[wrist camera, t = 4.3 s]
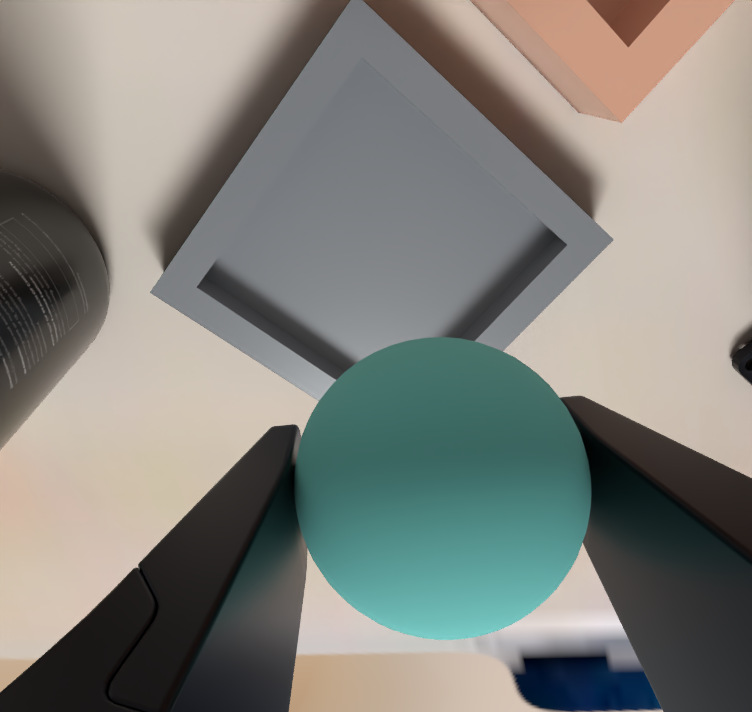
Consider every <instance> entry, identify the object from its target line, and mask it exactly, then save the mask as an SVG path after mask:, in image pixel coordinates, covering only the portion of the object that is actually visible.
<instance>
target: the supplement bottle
mask: <svg viewBox="0 0 752 712" xmlns="http://www.w3.org/2000/svg"><path fill="white" fill-rule="evenodd" d="M108 305H109V281H108V274H107V270H106V266H105V263H104V260H103V258H102V255H101V253H100V250H99V248H98V246H97V244H96V243H95V241H94V239H93V237H92V236H91V234H90V233H89V231H88V230H87V228H86V227H85V226H84V224H83V223H82V222H81V221H80V220H79V218H78V217H77V216H76V215H75V214H74V213H73V212H72V211H71V210H70V209H69V208H68V207H67V206H66V205H65V204H64V203H62V202H61V201H60V200H59V199H58V198H56V197H55V196H54V195H52V194H51V193H50V192H48V191H47V190H45V189H44V188H42V187H40V186H39V185H37V184H35V183H33V182H31V181H29V180H28V179H25V178H23V177H21V176H18V175H16V174H13V173H11V172H8V171H5V170H1V169H0V450H1V449H2V448H3V447H4V445H5V444H6V443H7V442H8V441H9V440H10V438H11V437H12V436H13V435H14V434H15V433H16V431H17V430H18V429H19V428H20V427H21V426H22V424H23V423H24V422H25V421H26V420H27V419H28V417H29V416H30V415H31V414H32V413H33V412H34V410H35V409H36V408H37V407H38V406H39V405H40V403H41V402H42V401H43V400H44V399H45V398H46V396H47V395H48V394H49V393H50V392H51V391H52V389H53V388H54V387H55V386H56V385H57V384H58V382H59V381H60V380H61V379H62V378H63V377H64V375H65V374H66V373H67V372H68V371H69V370H70V368H71V367H72V366H73V365H74V364H75V363H76V361H77V360H78V359H79V358H80V357H81V355H82V354H83V353H84V352H85V351H86V349H87V348H88V347H89V346H90V344H91V343H92V342H93V341H94V339H95V338H96V336H97V334H98V333H99V331H100V330H101V328H102V325H103V323H104V321H105V318H106V314H107V310H108Z"/></svg>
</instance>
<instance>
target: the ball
mask: <svg viewBox="0 0 752 712" xmlns="http://www.w3.org/2000/svg"><path fill="white" fill-rule="evenodd" d="M294 496H295V505H296V512H297V517H298V522H299V525H300V529H301V532H302V536H303V538H304V540H305V543H306V545H307V548H308V550H309V552H310V554H311V556H312V558H313V560H314V562H315V563H316V565H317V566H318V568H319V569H320V571H321V572H322V574H323V575H324V577H325V578H326V580H327V581H328V583H329V584H330V585H331V586H332V587H333V588H334V589H335V590H336V591H337V593H338V594H339V595H340V596H341V597H343V598H344V599H345V600H346V601H347V602H348V603H349V604H350V605H351V606H353V607H354V608H355V609H356V610H358V611H359V612H361V613H362V614H364V615H366V616H367V617H369V618H371V619H372V620H374V621H375V622H377V623H379V624H381V625H383V626H385V627H387V628H390V629H392V630H395V631H398V632H401V633H404V634H408V635H412V636H416V637H421V638H427V639H435V640H455V639H465V638H472V637H477V636H481V635H485V634H488V633H491V632H495V631H498V630H500V629H502V628H505V627H507V626H509V625H511V624H513V623H515V622H517V621H518V620H520V619H522V618H523V617H525V616H526V615H528V614H529V613H531V612H532V611H533V610H534V609H536V608H537V607H538V606H539V605H540V604H542V603H543V602H544V601H545V600H546V599H547V598H548V597H549V596H550V595H551V594H552V593H553V592H554V591H555V590H556V589H557V587H558V586H559V585H560V583H561V582H562V581H563V579H564V578H565V576H566V575H567V573H568V572H569V570H570V569H571V567H572V565H573V563H574V562H575V560H576V558H577V556H578V553H579V550H580V548H581V545H582V542H583V540H584V537H585V534H586V531H587V526H588V521H589V515H590V508H591V476H590V469H589V462H588V458H587V454H586V450H585V447H584V444H583V441H582V438H581V435H580V432H579V430H578V428H577V426H576V424H575V422H574V420H573V418H572V417H571V415H570V413H569V411H568V409H567V407H566V406H565V405H564V403H563V402H562V401H561V399H560V398H559V397H558V395H557V394H556V393H555V392H554V390H553V389H552V388H551V387H550V385H548V384H547V383H546V382H545V381H544V380H543V379H542V378H541V377H540V376H539V375H538V374H537V373H536V372H534V371H533V370H532V369H530V368H529V367H528V366H526V365H525V364H523V363H522V362H521V361H519V360H518V359H516V358H515V357H513V356H511V355H509V354H507V353H505V352H503V351H501V350H498V349H496V348H493V347H491V346H488V345H485V344H482V343H479V342H475V341H471V340H466V339H461V338H449V337H432V338H421V339H414V340H408V341H405V342H401V343H397V344H394V345H391V346H388V347H386V348H384V349H381V350H379V351H376V352H374V353H372V354H371V355H369V356H367V357H365V358H364V359H362V360H360V361H359V362H357V363H356V364H355V365H353V366H352V367H351V368H349V369H348V370H347V371H345V372H344V373H343V374H342V375H341V376H340V377H339V378H338V379H337V380H336V381H335V382H334V383H333V384H332V386H331V387H330V388H329V389H328V390H327V392H326V393H325V394H324V395H323V397H322V398H321V399H320V400H319V402H318V404H317V406H316V407H315V409H314V411H313V412H312V414H311V416H310V418H309V420H308V422H307V425H306V427H305V430H304V432H303V435H302V437H301V441H300V445H299V450H298V454H297V459H296V463H295V475H294Z"/></svg>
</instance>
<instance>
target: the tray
mask: <svg viewBox="0 0 752 712" xmlns="http://www.w3.org/2000/svg"><path fill="white" fill-rule="evenodd" d="M613 240H614V239H613V238H612V237H610V236H609V235H608V234H607V233H606V232H605V231H604V230H603V229H602V228H601V227H600V226H599V225H598V224H597V223H596V222H595V221H594V220H593V219H592V218H591V217H589V216H588V215H587V214H586V213H585V212H584V211H583V210H582V209H581V208H580V207H579V206H578V205H577V204H576V203H575V202H574V201H573V200H572V199H571V198H570V197H568V196H567V195H566V194H565V193H564V192H563V191H562V190H561V189H560V188H559V187H558V186H557V185H556V184H555V183H554V182H553V181H552V180H551V179H550V178H549V177H548V176H546V175H545V174H544V173H543V172H542V171H541V170H540V169H539V168H538V167H537V166H536V165H535V164H534V163H533V162H532V161H531V160H530V159H529V158H528V157H527V156H525V155H524V154H523V153H522V152H521V151H520V150H519V149H518V148H517V147H516V146H515V145H514V144H513V143H512V142H511V141H510V140H509V139H508V138H507V137H506V136H505V135H503V134H502V133H501V132H500V131H499V130H498V129H497V128H496V127H495V126H494V125H493V124H492V123H491V122H490V121H489V120H488V119H487V118H486V117H485V116H484V115H482V114H481V113H480V112H479V111H478V110H477V109H476V108H475V107H474V106H473V105H472V104H471V103H470V102H469V101H468V100H467V99H466V98H465V97H464V96H463V95H462V94H460V93H459V92H458V91H457V90H456V89H455V88H454V87H453V86H452V85H451V84H450V83H449V82H448V81H447V80H446V79H445V78H444V77H443V76H442V75H441V74H439V73H438V72H437V71H436V70H435V69H434V68H433V67H432V66H431V65H430V64H429V63H428V62H427V61H426V60H425V59H424V58H423V57H422V56H421V55H420V54H419V53H417V52H416V51H415V50H414V49H413V48H412V47H411V46H410V45H409V44H408V43H407V42H406V41H405V40H404V39H403V38H402V37H401V36H400V35H399V34H398V33H396V32H395V31H394V30H393V29H392V28H391V27H390V26H389V25H388V24H387V23H386V22H385V21H384V20H383V19H382V18H381V17H380V16H379V15H378V14H377V13H376V12H374V11H373V10H372V9H371V8H370V7H369V6H368V5H367V4H366V3H365V2H364V1H363V0H350V2H349V3H348V5H347V6H346V8H345V9H344V11H343V12H342V13H341V15H340V16H339V18H338V19H337V21H336V22H335V24H334V25H333V27H332V28H331V29H330V31H329V32H328V34H327V35H326V37H325V38H324V40H323V41H322V43H321V44H320V46H319V47H318V48H317V50H316V51H315V53H314V54H313V56H312V57H311V59H310V60H309V62H308V63H307V64H306V66H305V67H304V69H303V70H302V72H301V73H300V75H299V76H298V78H297V79H296V81H295V82H294V83H293V85H292V86H291V88H290V89H289V91H288V92H287V94H286V95H285V97H284V98H283V99H282V101H281V102H280V104H279V105H278V107H277V108H276V110H275V111H274V113H273V114H272V115H271V117H270V118H269V120H268V121H267V123H266V124H265V126H264V127H263V129H262V130H261V132H260V133H259V134H258V136H257V137H256V139H255V140H254V142H253V143H252V145H251V146H250V148H249V149H248V150H247V152H246V153H245V155H244V156H243V158H242V159H241V161H240V162H239V164H238V165H237V166H236V168H235V169H234V171H233V172H232V174H231V175H230V177H229V178H228V180H227V181H226V183H225V184H224V185H223V187H222V188H221V190H220V191H219V193H218V194H217V196H216V197H215V199H214V200H213V201H212V203H211V204H210V206H209V207H208V209H207V210H206V212H205V213H204V215H203V216H202V218H201V219H200V220H199V222H198V223H197V225H196V226H195V228H194V229H193V231H192V232H191V234H190V235H189V236H188V238H187V239H186V241H185V242H184V244H183V245H182V247H181V248H180V250H179V251H178V252H177V254H176V255H175V257H174V258H173V260H172V261H171V263H170V264H169V266H168V267H167V269H166V270H165V271H164V273H163V274H162V276H161V277H160V279H159V280H158V282H157V283H156V285H155V286H154V287H153V289H152V290H151V292H150V293H151V294H153V295H155V296H156V297H158V298H159V299H161V300H162V301H164V302H165V303H167V304H169V305H170V306H172V307H173V308H175V309H176V310H178V311H179V312H181V313H183V314H184V315H186V316H187V317H189V318H190V319H192V320H193V321H195V322H197V323H198V324H200V325H201V326H203V327H204V328H206V329H207V330H209V331H211V332H212V333H214V334H215V335H217V336H218V337H220V338H222V339H223V340H225V341H226V342H228V343H229V344H231V345H232V346H234V347H236V348H237V349H239V350H240V351H242V352H243V353H245V354H246V355H248V356H250V357H251V358H253V359H254V360H256V361H257V362H259V363H260V364H262V365H264V366H265V367H267V368H268V369H270V370H271V371H273V372H274V373H276V374H278V375H279V376H281V377H282V378H284V379H285V380H287V381H288V382H290V383H292V384H293V385H295V386H296V387H298V388H299V389H301V390H302V391H304V392H306V393H307V394H309V395H310V396H312V397H313V398H315V399H316V400H318V401H319V400H320V399H321V398H322V397H323V395H324V394H325V393H326V392H327V390H328V389H329V388H330V387H331V386H332V384H333V383H334V382H335V381H336V380H337V379H338V378H339V377H340V376H341V375H342V374H343V373H344V372H345V371H347V370H348V369H349V368H351V367H352V366H353V365H355V364H356V363H357V362H359V361H360V360H362V359H364V358H365V357H367V356H369V355H371V354H372V353H374V352H376V351H379V350H381V349H384V348H386V347H388V346H391V345H394V344H397V343H401V342H405V341H408V340H414V339H421V338H432V337H449V338H461V339H466V340H471V341H475V342H479V343H482V344H485V345H488V346H491V347H493V348H496V349H498V350H501V351H504V350H505V349H506V347H507V346H508V345H509V344H510V343H511V342H512V341H513V340H514V339H515V338H516V337H517V336H518V335H519V334H520V333H521V332H522V331H523V330H524V329H525V328H526V327H527V326H528V325H529V324H530V323H531V322H532V321H533V320H534V319H535V318H536V317H537V316H538V315H539V314H540V313H541V312H542V311H543V310H544V309H545V308H546V307H547V306H548V305H549V304H550V303H551V302H552V301H553V300H554V299H555V298H556V297H557V296H558V295H559V294H560V293H561V292H562V291H563V290H564V289H565V288H566V287H567V286H568V285H569V284H570V283H571V282H572V281H573V280H574V279H575V278H576V277H577V276H578V275H579V274H580V273H581V272H582V271H583V270H584V269H585V268H586V267H587V266H588V265H589V264H590V263H591V262H592V261H593V260H594V259H595V258H596V257H597V256H598V255H599V254H600V253H601V252H602V251H603V250H604V249H605V248H606V247H607V246H608V245H609V244H610V243H611V242H612V241H613Z"/></svg>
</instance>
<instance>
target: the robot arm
mask: <svg viewBox="0 0 752 712" xmlns="http://www.w3.org/2000/svg"><path fill="white" fill-rule="evenodd" d="M750 359H752V340H751V341H750V342H749V343H748V344H747V345H746V346H744V347H743V348H742V349H741V350H740V351H738V352H737V353H736V355H735V356H734V357H733V360H732V366H733V368H734V369H735V370H736V371H737V372H738V373H739V374H740V375H741V376H742V377H743V378H744V379H745V380H747V381H748V382H749V383H750V384H751V385H752V361H751V362H750V363H749V364H747V365H746V363H747V362H748V361H749V360H750ZM560 399H561V401H562V402H563V403H564V405H565V406H566V407H567V409H568V411H569V413H570V415H571V417H572V418H573V420H574V422H575V424H576V426H577V428H578V430H579V432H580V435H581V438H582V441H583V444H584V447H585V450H586V454H587V458H588V462H589V469H590V476H591V508H590V515H589V521H588V526H587V531H586V534H585V537H584V540H583V544H584V546H585V549H586V551H587V553H588V555H589V557H590V559H591V561H592V563H593V566H594V568H595V570H596V572H597V574H598V576H599V578H600V580H601V582H602V584H603V586H604V589H605V591H606V593H607V595H608V597H609V599H610V601H611V603H612V605H613V607H614V609H615V612H616V614H617V616H618V618H619V620H620V622H621V624H622V626H623V628H624V630H625V632H626V634H627V637H628V639H629V641H630V643H631V645H632V647H633V649H634V651H635V653H636V655H637V657H638V660H639V662H640V664H641V666H642V668H643V670H644V672H645V674H646V676H647V678H648V680H649V682H650V685H651V687H652V689H653V691H654V693H655V695H656V697H657V699H658V701H659V703H660V705H661V708H662V710H663V712H752V478H750V477H748V476H746V475H744V474H742V473H740V472H737V471H735V470H733V469H731V468H729V467H727V466H725V465H723V464H721V463H719V462H717V461H715V460H713V459H711V458H709V457H707V456H705V455H703V454H701V453H698V452H696V451H694V450H692V449H690V448H688V447H686V446H684V445H682V444H680V443H678V442H676V441H674V440H672V439H670V438H668V437H666V436H664V435H662V434H659V433H657V432H655V431H653V430H651V429H649V428H647V427H645V426H643V425H641V424H639V423H637V422H635V421H633V420H631V419H629V418H627V417H625V416H623V415H620V414H618V413H616V412H614V411H612V410H610V409H608V408H606V407H604V406H602V405H600V404H598V403H596V402H594V401H592V400H590V399H588V398H586V397H583V396H571V397H561V398H560ZM300 441H301V435H300V430H299V428H298V426H297V425H284V426H274V427H272V428H270V429H269V430H268V431H267V432H266V433H265V434H264V435H263V436H262V437H261V438H260V439H259V440H258V441H257V442H256V443H255V445H254V446H253V447H252V448H251V449H250V450H249V451H248V452H247V453H246V454H245V455H244V456H243V457H242V458H241V459H240V460H239V461H238V462H237V463H236V464H235V465H234V466H233V467H232V468H231V469H230V470H229V471H228V472H227V473H226V474H225V475H224V476H223V477H222V478H221V479H220V481H219V482H218V483H217V484H216V485H215V486H214V487H213V488H212V489H211V490H210V491H209V492H208V493H207V494H206V495H205V496H204V497H203V498H202V499H201V500H200V501H199V502H198V503H197V504H196V505H195V506H194V507H193V508H192V509H191V510H190V511H189V512H188V513H187V514H186V516H185V517H184V518H183V519H182V520H181V521H180V522H179V523H178V524H177V525H176V526H175V527H174V528H173V529H172V530H171V531H170V532H169V533H168V534H167V535H166V536H165V537H164V538H163V539H162V540H161V541H160V542H159V543H158V544H157V545H156V546H155V547H154V548H153V549H152V550H151V552H150V553H149V554H148V555H147V556H146V557H145V558H144V559H143V560H142V561H141V562H140V563H139V564H138V568H134V569H133V570H132V571H131V572H130V573H129V574H128V575H127V576H126V577H125V578H124V579H123V580H122V581H121V582H120V583H119V584H118V585H117V586H116V587H115V588H114V589H113V590H112V591H111V592H110V593H109V594H108V595H107V596H106V597H105V598H104V599H103V600H102V601H101V602H100V603H99V604H98V605H97V606H96V607H95V608H94V609H93V610H92V611H91V612H90V613H89V614H88V615H87V616H86V617H85V618H84V619H83V620H81V621H80V622H79V623H78V624H77V625H76V626H75V627H74V628H73V629H71V630H70V631H69V632H68V633H67V634H66V635H65V636H64V637H63V638H62V639H60V640H59V641H58V642H57V643H56V644H55V645H54V646H53V647H52V648H51V649H49V650H48V651H47V652H46V653H45V654H44V655H43V656H42V657H40V658H39V659H38V660H37V661H36V662H35V663H34V664H32V665H31V666H30V667H29V668H28V669H27V670H25V671H24V672H23V673H22V674H21V675H20V676H19V677H17V678H16V679H15V680H14V681H13V682H12V683H11V684H9V685H8V686H7V687H6V688H5V689H4V690H3V691H1V692H0V712H289V704H290V697H291V688H292V680H293V672H294V666H295V658H296V650H297V642H298V635H299V627H300V619H301V611H302V604H303V596H304V588H305V580H306V569H307V545H306V543H305V540H304V538H303V536H302V532H301V529H300V525H299V522H298V517H297V512H296V505H295V496H294V475H295V463H296V459H297V454H298V450H299V445H300Z"/></svg>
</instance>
